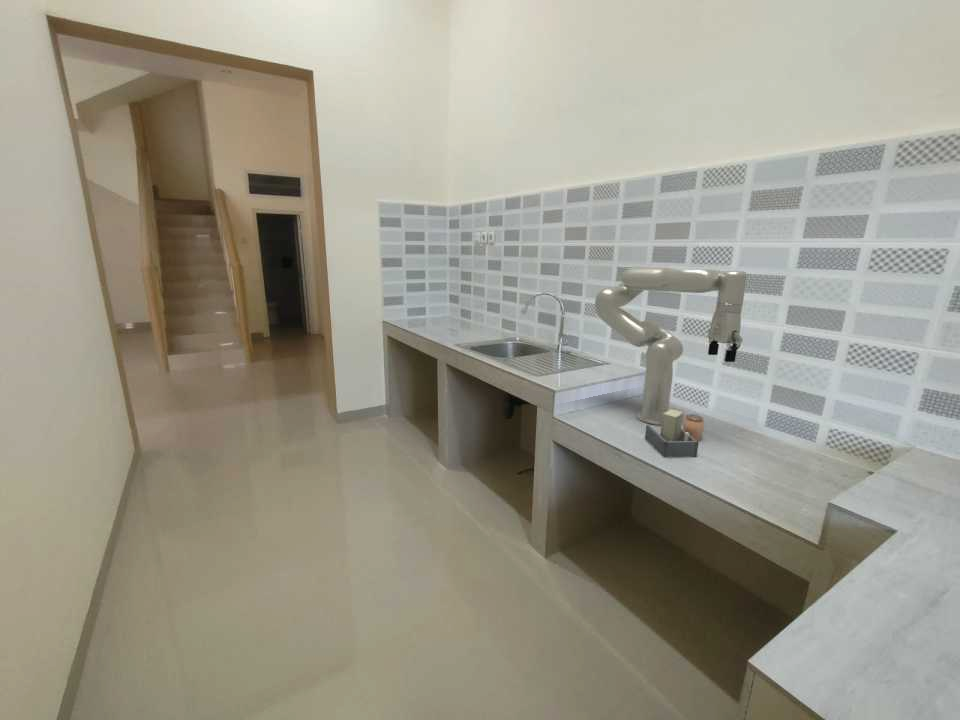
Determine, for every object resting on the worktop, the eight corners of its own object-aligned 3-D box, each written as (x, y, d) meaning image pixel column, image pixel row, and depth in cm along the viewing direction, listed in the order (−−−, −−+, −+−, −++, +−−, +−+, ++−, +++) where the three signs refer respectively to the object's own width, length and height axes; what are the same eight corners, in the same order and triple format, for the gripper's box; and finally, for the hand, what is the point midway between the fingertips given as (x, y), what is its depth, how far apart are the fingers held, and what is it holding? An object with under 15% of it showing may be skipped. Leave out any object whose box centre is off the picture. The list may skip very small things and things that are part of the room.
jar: (679, 434, 150) (681, 414, 148) (695, 434, 150) (698, 413, 148) (687, 441, 144) (690, 420, 142) (704, 441, 145) (707, 420, 143)
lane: (644, 438, 147) (646, 424, 145) (674, 437, 147) (676, 424, 146) (663, 456, 133) (665, 442, 132) (696, 456, 134) (698, 442, 132)
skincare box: (666, 441, 144) (670, 408, 141) (679, 445, 141) (684, 412, 138) (658, 446, 140) (662, 413, 137) (671, 451, 137) (675, 416, 134)
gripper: (703, 305, 148) (696, 352, 152) (734, 312, 131) (725, 364, 135) (723, 305, 148) (716, 352, 152) (757, 312, 131) (748, 364, 135)
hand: (720, 358), depth 144 cm, fingers open, 9 cm apart
